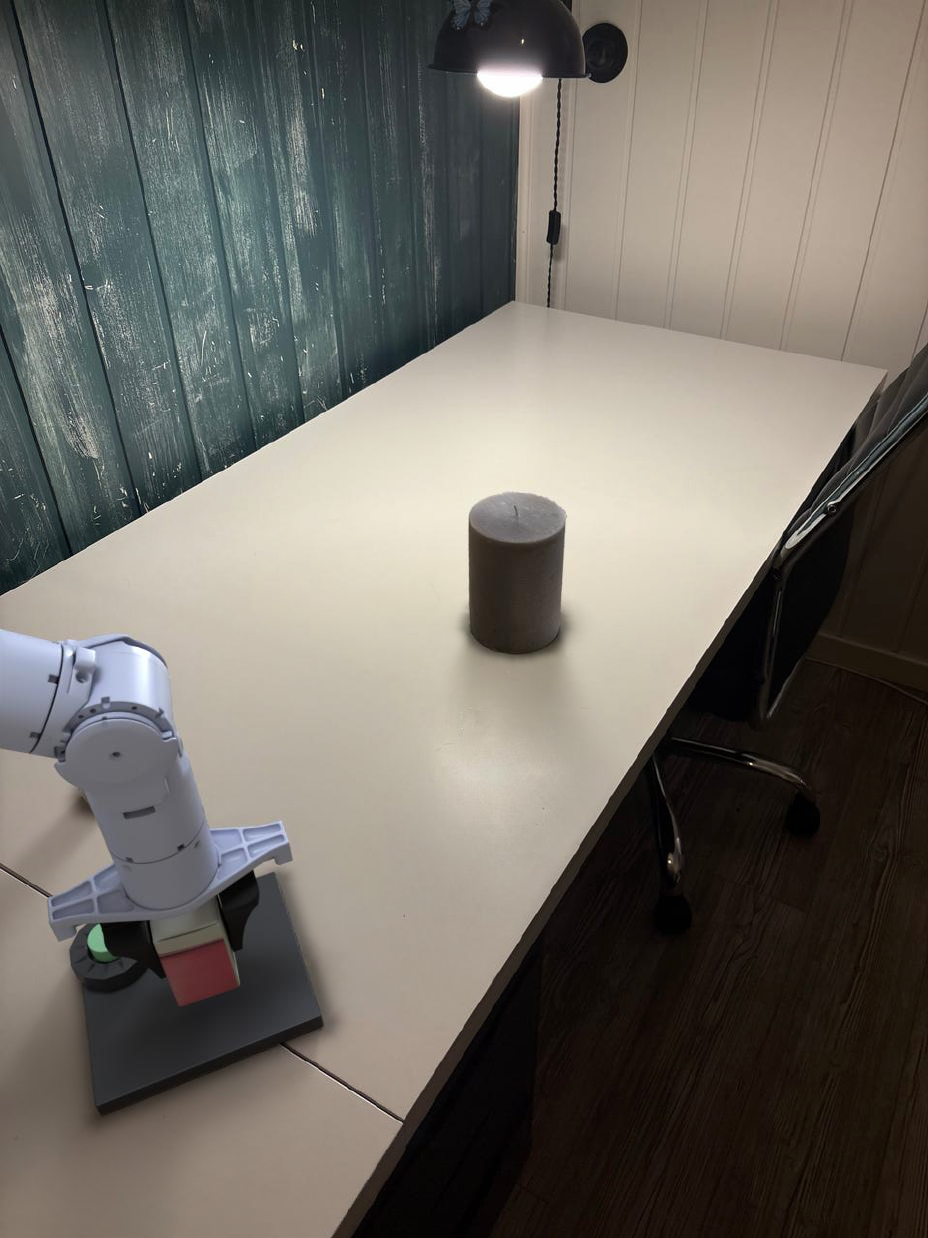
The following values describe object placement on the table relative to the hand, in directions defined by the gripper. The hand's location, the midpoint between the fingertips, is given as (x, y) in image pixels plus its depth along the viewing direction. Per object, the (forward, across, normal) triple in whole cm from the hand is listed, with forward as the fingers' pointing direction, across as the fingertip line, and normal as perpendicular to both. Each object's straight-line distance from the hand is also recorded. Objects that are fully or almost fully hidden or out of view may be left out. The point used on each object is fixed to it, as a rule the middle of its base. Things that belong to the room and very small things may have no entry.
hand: (200, 951), depth 63 cm
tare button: (+3, +6, -5) cm, 8 cm away
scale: (+5, +1, -1) cm, 6 cm away
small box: (+2, 0, 0) cm, 2 cm away
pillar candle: (+6, -38, -29) cm, 48 cm away
